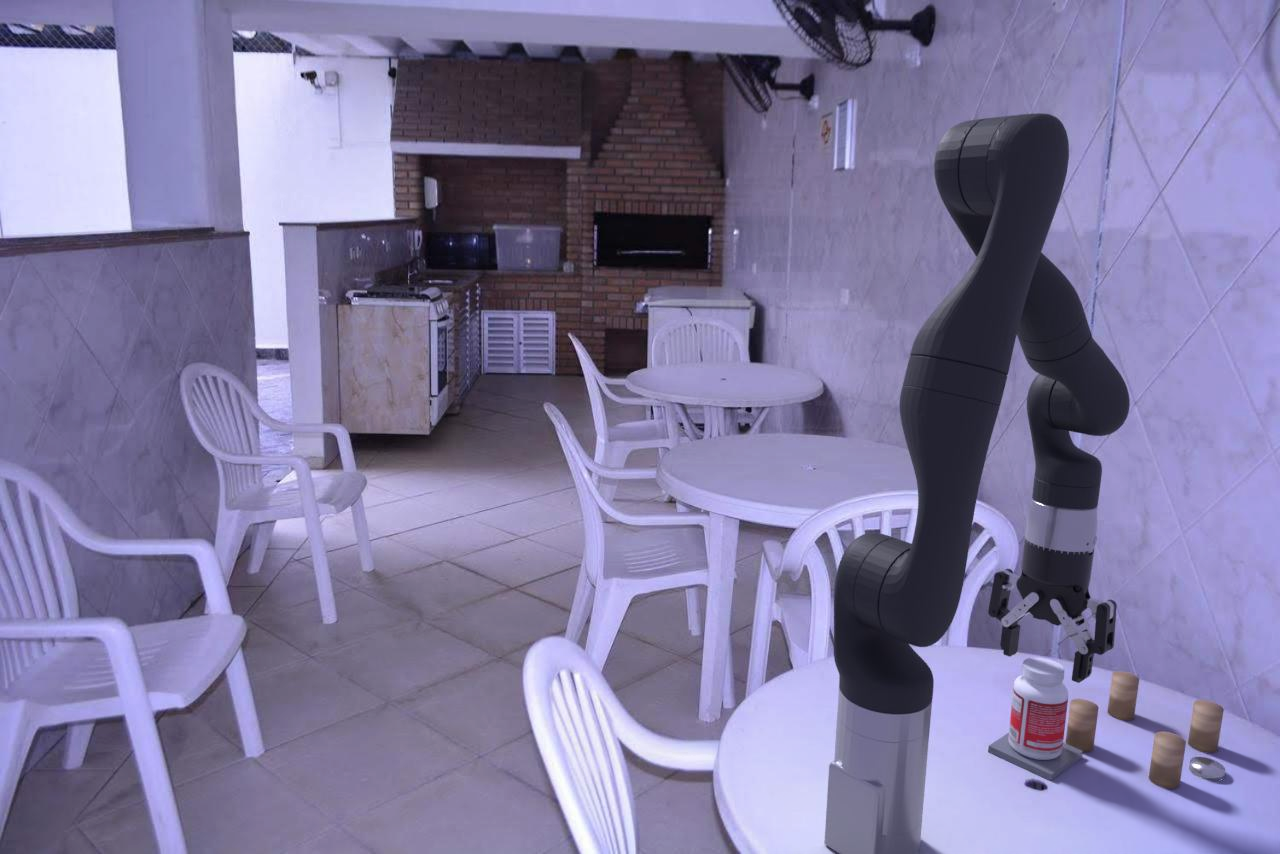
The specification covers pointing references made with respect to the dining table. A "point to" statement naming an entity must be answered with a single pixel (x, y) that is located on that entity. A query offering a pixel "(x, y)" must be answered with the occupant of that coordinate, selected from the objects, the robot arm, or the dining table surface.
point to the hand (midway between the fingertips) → (1043, 667)
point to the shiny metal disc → (1207, 768)
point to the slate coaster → (1039, 767)
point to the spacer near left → (1167, 760)
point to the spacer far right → (1123, 695)
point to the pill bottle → (1039, 710)
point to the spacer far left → (1205, 726)
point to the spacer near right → (1082, 724)
